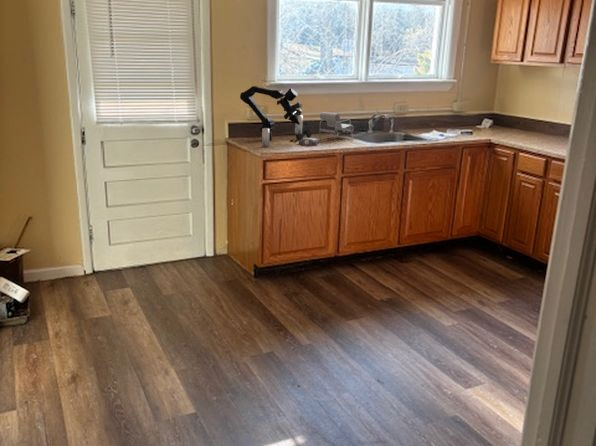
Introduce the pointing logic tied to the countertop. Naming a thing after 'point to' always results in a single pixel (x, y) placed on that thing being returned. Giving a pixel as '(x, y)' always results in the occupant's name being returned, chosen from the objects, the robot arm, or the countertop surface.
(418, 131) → the countertop surface
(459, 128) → the countertop surface
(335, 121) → the chair
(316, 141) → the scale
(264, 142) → the spacer
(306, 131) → the handgun
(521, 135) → the countertop surface
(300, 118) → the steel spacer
